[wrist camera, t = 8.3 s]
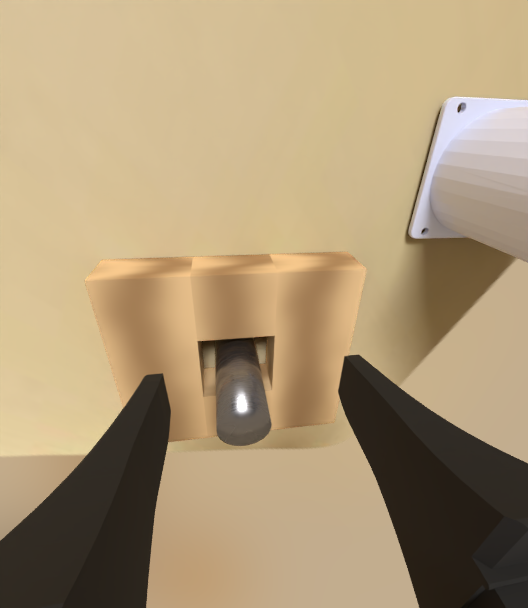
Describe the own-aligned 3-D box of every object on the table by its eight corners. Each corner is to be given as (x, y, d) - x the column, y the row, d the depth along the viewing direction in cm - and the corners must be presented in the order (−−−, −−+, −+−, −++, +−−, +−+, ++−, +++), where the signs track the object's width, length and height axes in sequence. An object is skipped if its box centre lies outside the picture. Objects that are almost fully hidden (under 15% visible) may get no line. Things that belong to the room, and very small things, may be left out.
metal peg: (251, 320, 22) (268, 403, 16) (256, 350, 24) (274, 439, 17) (211, 327, 22) (211, 415, 15) (219, 358, 24) (222, 450, 17)
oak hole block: (347, 251, 21) (366, 269, 18) (322, 395, 28) (334, 422, 25) (102, 259, 19) (84, 280, 16) (142, 414, 26) (134, 445, 23)
